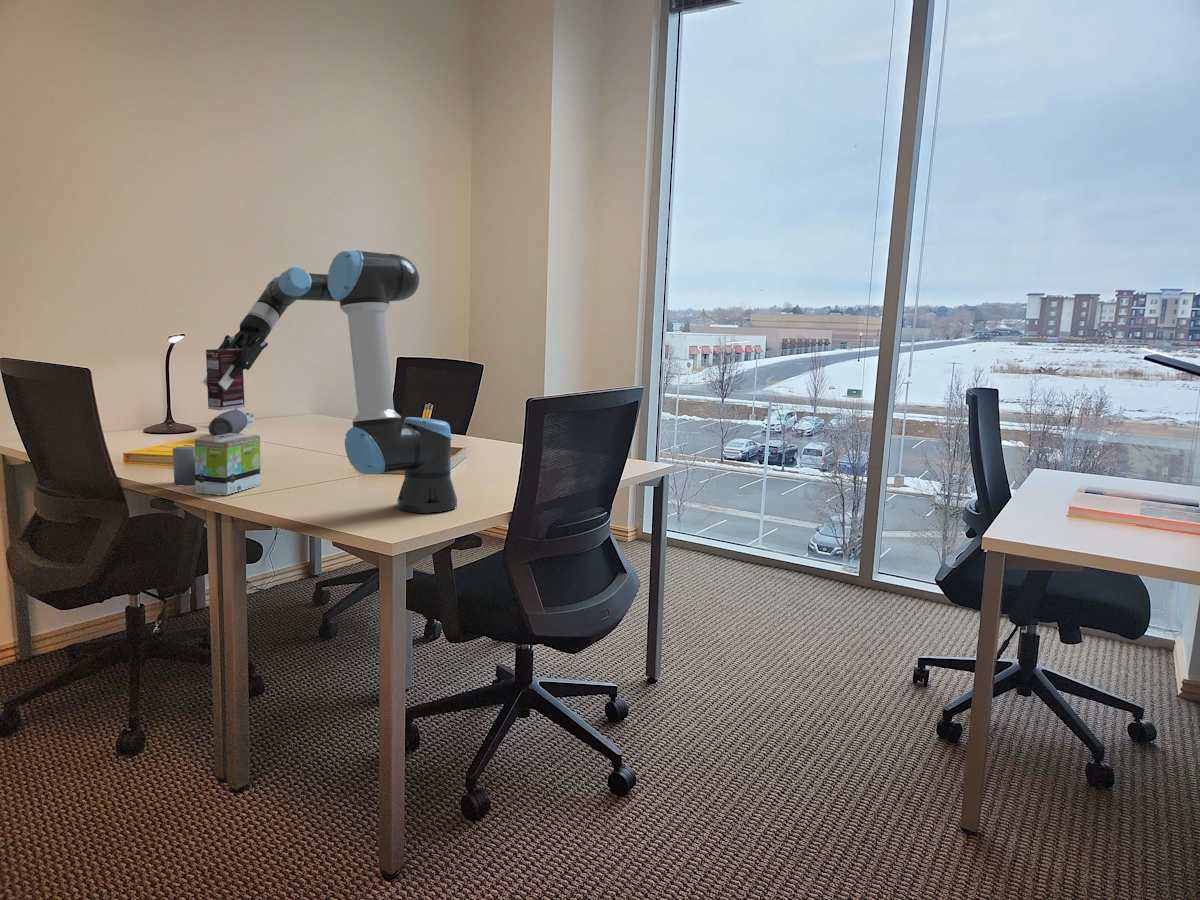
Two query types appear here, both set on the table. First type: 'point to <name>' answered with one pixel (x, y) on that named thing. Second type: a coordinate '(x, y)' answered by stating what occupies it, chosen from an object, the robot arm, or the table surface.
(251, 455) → the tea box
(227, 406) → the supplement box
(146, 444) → the table surface
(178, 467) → the upright grey block
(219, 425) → the bluetooth speaker
